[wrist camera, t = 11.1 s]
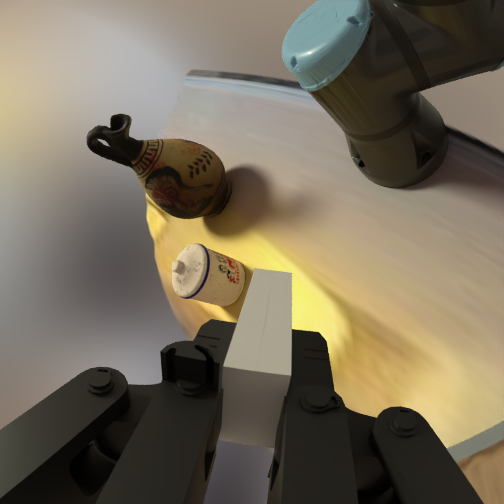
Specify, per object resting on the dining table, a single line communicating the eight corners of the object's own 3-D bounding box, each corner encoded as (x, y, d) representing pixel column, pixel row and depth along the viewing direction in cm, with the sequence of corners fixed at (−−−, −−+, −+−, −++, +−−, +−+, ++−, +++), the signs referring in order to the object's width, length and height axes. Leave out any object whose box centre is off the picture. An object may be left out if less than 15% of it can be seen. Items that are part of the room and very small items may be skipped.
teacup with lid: (255, 282, 51) (199, 263, 43) (222, 318, 54) (166, 306, 46) (228, 238, 59) (178, 216, 51) (200, 273, 62) (151, 256, 54)
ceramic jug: (246, 154, 63) (125, 77, 43) (237, 221, 59) (91, 149, 38) (196, 177, 75) (89, 121, 54) (184, 236, 70) (62, 185, 49)
